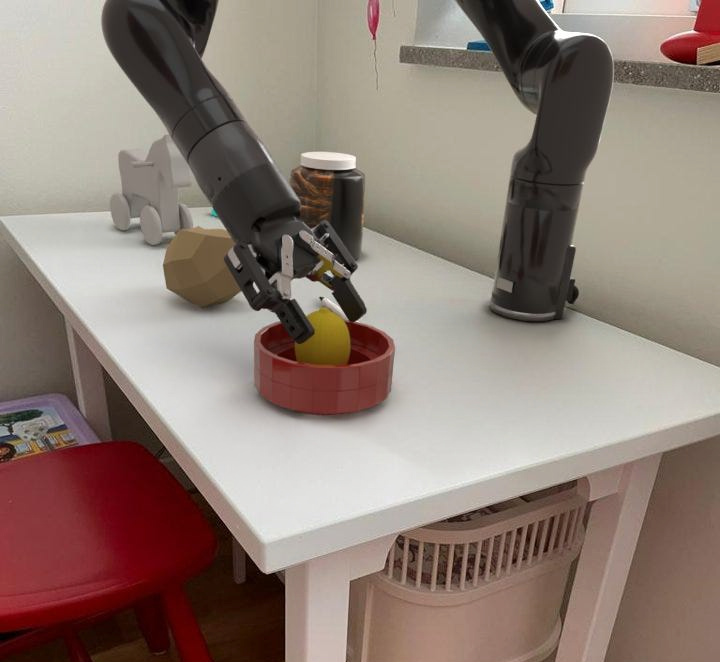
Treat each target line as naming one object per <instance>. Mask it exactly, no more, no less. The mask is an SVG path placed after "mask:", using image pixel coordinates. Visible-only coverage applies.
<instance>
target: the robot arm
mask: <svg viewBox="0 0 720 662" xmlns="http://www.w3.org/2000/svg"><path fill="white" fill-rule="evenodd" d="M454 1H455V3H456V4H457V6H458V7H459V8H460V10H461V11H462V12H463V13H464V15H465V16H466V17H467V18H468V20H469V21H470V22H471V24H472V25H473V26H474V27H475V29H476V30H477V31H478V33H479V34H480V35H481V37H482V38H483V40H484V41H485V43H486V45H487V46H488V48H489V49H490V51H491V53H492V55H493V57H494V58H495V60H496V62H497V64H498V66H499V68H500V69H501V71H502V73H503V75H504V78H506V81H507V82H508V85H509V86H510V88H511V89H512V91H513V93H514V95H515V96H516V98H517V100H518V101H519V102H520V104H521V105H522V106H523V107H524V108H525V109H526V110H528V111H529V112H531V113H532V114H534V115H535V120H534V125H533V131H532V134H531V137H530V139H529V141H528V143H527V144H526V145H525V146H524V147H522V148H520V149H518V150H517V151H515V153H514V155H513V157H512V161H511V166H510V172H509V174H510V175H509V179H508V185H507V193H506V200H505V207H504V214H503V220H502V226H501V232H500V239H499V247H498V253H497V257H496V258H497V259H496V265H495V270H494V271H495V273H494V279H493V286H492V290H491V297H490V300H489V309H490V310H491V311H493V312H494V313H496V314H498V315H499V316H503V317H505V318H508V319H513V320H518V321H525V322H546V321H551V320H555V319H557V320H559V319H560V320H562V319H563V316H564V312H565V311H564V310H565V305H566V303H568V304H569V305H574V304H575V302H576V301H577V299H578V298H579V296H580V292H579V288H578V287H577V286H576V278H575V277H574V276H572V272H573V266H574V261H575V256H576V251H577V248H576V246H575V245H574V244H573V239H574V236H575V230H576V225H577V219H578V214H579V210H580V209H579V208H580V204H581V199H582V194H583V190H584V189H583V188H584V184H585V183H584V182H585V179H586V174H587V171H588V169H589V168H590V165H591V164H592V162H593V160H594V159H595V157H596V154H597V151H598V150H599V146H600V141H601V137H602V133H603V129H604V125H605V121H606V116H607V113H608V109H609V105H610V102H611V101H610V100H611V95H612V92H613V86H614V77H615V67H614V65H615V63H614V58H613V54H612V51H611V49H610V47H609V45H608V44H607V43H606V42H605V40H603V39H602V38H600V37H599V36H596V35H595V34H591V33H585V32H574V31H573V32H571V31H564V30H562V28H560V27H559V25H557V24H556V22H555V21H554V20H553V19H552V18H551V17H550V15H549V14H548V12H547V10H545V8H544V7H543V5H542V4H541V2H540V1H539V0H454ZM219 2H220V0H105V1H104V3H103V6H102V10H101V18H100V25H101V32H102V37H103V39H104V43H105V44H106V47H107V49H108V50H109V52H110V54H111V57H112V58H113V59H114V60H115V63H117V66H119V68H120V69H121V71H122V72H123V73H124V75H125V76H126V77H127V79H128V80H129V81H130V82H131V83H132V85H133V86H134V87H135V89H136V90H137V91H138V92H139V94H140V95H141V96H142V98H143V99H144V100H145V101H146V103H147V104H148V105H149V106H150V107H151V109H153V111H154V112H155V114H156V115H157V116H158V118H159V120H160V121H161V122H162V124H163V126H164V127H165V129H166V131H167V133H168V135H170V137H171V138H172V140H173V142H174V143H175V145H176V147H177V148H178V150H179V151H180V153H181V154H182V156H183V158H184V159H185V161H186V162H187V164H188V165H189V167H190V172H192V173H191V174H193V177H194V179H195V182H196V183H197V185H198V187H199V189H200V190H201V192H202V194H203V195H204V197H205V198H206V200H207V202H208V203H209V204H210V206H211V209H214V211H215V213H216V214H217V216H218V217H217V216H216V217H217V218H218V219H219V220H220V222H221V223H222V225H223V227H224V228H225V230H226V231H228V233H229V235H230V236H231V238H232V239H233V241H234V242H235V245H234V246H233V247H232V248H231V249H230V251H229V252H228V253H227V254H226V255H225V256H224V262H225V263H226V265H227V267H228V269H229V270H230V272H231V274H232V275H233V277H234V279H235V281H236V282H237V284H238V286H239V287H240V289H241V293H242V294H243V296H244V298H245V300H246V301H247V303H248V304H249V306H250V308H251V309H252V310H253V311H254V312H260V311H261V310H262V309H264V310H268V311H269V312H270V313H274V314H275V315H276V317H277V318H278V320H279V321H281V323H282V325H283V326H284V328H285V329H286V330H287V332H288V334H289V336H290V337H291V338H292V339H294V340H295V341H296V343H297V344H302V343H304V342H306V341H307V340H308V339H309V338H311V337H312V336H313V335H314V333H315V330H314V328H313V326H312V325H311V323H310V322H309V320H308V318H307V317H306V316H307V315H306V314H305V312H304V311H303V309H302V307H301V306H300V303H298V301H297V299H296V298H293V299H292V281H293V280H294V279H297V280H300V279H303V278H306V279H307V280H308V281H311V282H313V283H315V282H318V283H320V284H322V285H323V286H324V287H326V288H327V289H329V290H330V291H332V292H331V295H332V297H333V299H335V302H336V303H337V304H338V307H340V308H341V309H342V311H343V312H344V314H345V315H346V317H347V318H348V320H349V321H350V322H355V321H359V320H360V319H361V318H363V317H364V316H365V315H366V314H367V312H368V309H367V307H366V304H365V302H364V300H363V299H362V297H361V295H360V294H359V292H358V291H357V289H356V288H355V286H354V284H353V282H352V281H351V277H352V275H353V274H354V273H355V272H356V271H357V270H358V268H359V265H358V263H357V262H356V260H354V259H353V257H352V256H351V255H350V253H349V252H348V250H347V249H346V247H345V246H344V244H343V243H342V241H341V240H340V238H339V237H338V235H337V234H336V233H335V231H334V230H333V228H332V227H331V225H330V224H329V223H328V222H327V221H325V220H323V221H322V222H321V223H320V224H319V225H317V226H316V227H314V228H311V229H310V228H309V227H308V226H307V225H305V223H304V222H303V221H302V220H301V218H300V209H301V202H300V200H299V198H298V197H297V195H296V193H295V192H294V190H293V189H292V187H291V185H290V184H289V183H290V181H289V180H288V179H287V177H286V176H285V174H284V172H283V171H282V170H281V168H280V166H279V165H278V163H277V161H276V160H275V159H274V157H273V155H272V153H271V152H270V151H269V149H268V147H267V146H266V145H265V142H263V140H262V139H261V138H260V137H259V136H258V135H257V133H256V132H255V130H253V128H252V127H251V126H250V124H249V123H248V121H247V119H246V118H245V116H244V115H243V113H242V112H241V110H240V108H239V107H238V106H237V104H236V102H235V101H234V99H233V97H232V96H231V94H230V93H229V92H228V90H227V89H226V88H225V87H224V85H223V83H221V81H220V80H218V78H217V77H216V76H215V75H214V73H212V72H211V70H209V68H208V67H207V65H206V64H205V62H204V61H203V56H204V55H205V52H206V48H207V46H208V42H209V39H210V35H211V32H212V28H213V25H214V21H215V17H216V14H217V10H218V6H219ZM337 255H338V256H339V257H340V258H341V260H342V261H343V263H338V262H337V261H336V259H335V258H336V256H337ZM317 257H318V258H319V259H321V261H320V262H319V263H317ZM327 272H330V273H331V274H332V276H331V275H329V274H328V273H327ZM254 284H255V286H256V287H257V289H258V290H259V291H258V292H257V290H256V288H255V286H254Z"/></svg>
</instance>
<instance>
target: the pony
mask: <svg viewBox="0 0 720 662" xmlns="http://www.w3.org/2000/svg"><path fill="white" fill-rule="evenodd" d="M117 158H118V159H117V160H118V161H117V163H118V169H119V170H118V171H119V176H120V180H121V193H120V192H115V193H113V194H112V195H111V196H110V201H109V209H110V210H109V211H110V216H111V218H112V222H113V224H114V226H115V227H116V228H117V229H118V230H120V231H122V232H126V231H127V230H128V229H129V228H130V225H131V219H137V218H138V219H139V225H140V230H141V233H142V236H143V238H144V240H145V241H146V243H147V244H149V245H151V246H154V247H155V246H157V245H159V244H160V243H161V241H162V238H163V234H164V233H172V232H173V233H174V235H176V234H177V233H178V232H179V230H183V229H192V228H194V222H193V221H194V220H193V216H192V213H191V211H190V209H189V208H188V206H187V205H186V204H185V203H182V202H179V196H180V195H179V189H180V188H181V189H182V188H190V187H191V186H192V185H193V178H192V173H191V172H192V171H191V169H190V167H189V165H188V164H187V162H186V161H185V159H184V158H183V156H182V154H181V153H180V151H179V150H178V148H177V147H176V145H175V143H174V142H173V140H172V138H171V137H170V135H169V134H164V135H163V136H162V137H161V138H158V139H156V140H154V141H153V143H152V144H151V146H150V148H149V150H148V151H146V150H145V149H143V148H132V149H131V148H130V149H120V150H119V152H118V157H117Z"/></svg>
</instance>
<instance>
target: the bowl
mask: <svg viewBox="0 0 720 662" xmlns="http://www.w3.org/2000/svg"><path fill="white" fill-rule="evenodd" d="M342 319H343V318H342ZM343 321H344V322H345V324H346V325H347V328H348V331H349V335H350V356H349V360H348V363H347V365H338V366H334V365H314V364H308V363H301V362H297V359H296V354H295V340H294V339H292V338H291V337H290V336H289V334H288V332H287V330H286V329H285V328H284V326H283V325H282V323H281V321H280V320H279V321H275V322H273V323H270V324H268V325H265V326H263V327H261V329H260V330H258V331H257V332H256V333H255V334H254V340H253V379H254V380H253V381H254V384H253V386H254V388H255V389H256V391H257V392H258V394H259V395H260V396H261V397H262V398H263V399H265V400H267V401H268V402H270V403H272V404H274V405H276V406H279V407H282V408H284V409H287V410H290V411H293V412H295V413H300V414H306V415H313V416H342V415H343V416H344V415H350V414H353V413H358V412H360V411H363V410H367V409H370V408H374V407H376V406H377V405H379V404H381V403H383V402H384V401H386V400H387V399H388V397H389V395H390V393H391V392H392V388H393V387H392V385H393V375H394V365H395V352H396V346H395V341H394V339H393V338H392V337H391V336H390V335H389V334H388V333H386V332H385V331H383V330H381V329H379V328H377V327H375V326H373V325H370V324H366V323H362V322H360V321H359V322H360V323H359V322H356V321H355V322H350V321H349V320H344V319H343Z"/></svg>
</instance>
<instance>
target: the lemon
mask: <svg viewBox="0 0 720 662" xmlns="http://www.w3.org/2000/svg"><path fill="white" fill-rule="evenodd" d="M306 317H307V318H308V320H309V322H310V323H311V325H312V326H313V328H314V330H315V333H314V335H313V336H312V337H311V338H309V339H308V340H307V341H306V342H304V343H302V344H297V343H296V341H295V354H296V359H297V362H301V363H308V364H314V365H334V366H338V365H347V363H348V360H349V356H350V335H349V331H348V328H347V325H346V324H345V322H344V321H343V318H341V317H340V316H339V315H337V314H336V313H335V312H333V311H332V310H330V309H329V308H328V307H327V306H321V307H320V308H319V309H318V310H315V311H314V310H313V311H312V312H310V313H308V314H307V315H306Z"/></svg>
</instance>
